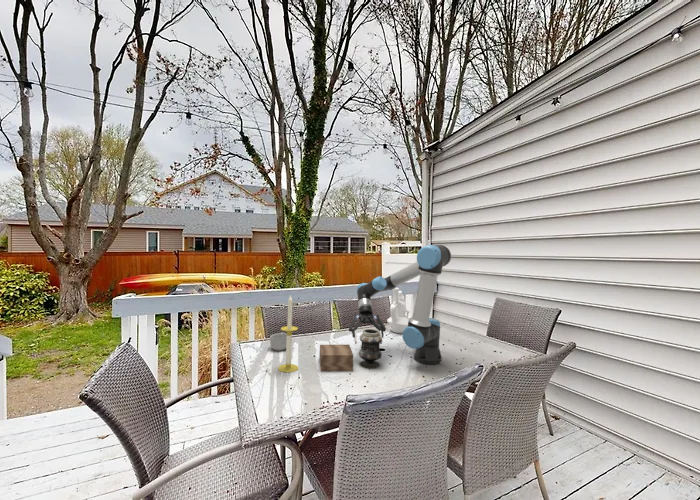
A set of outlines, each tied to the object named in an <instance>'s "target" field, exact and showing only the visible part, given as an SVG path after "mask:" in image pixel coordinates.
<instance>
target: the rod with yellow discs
mask: <svg viewBox="0 0 700 500" xmlns="http://www.w3.org/2000/svg"><path fill="white" fill-rule="evenodd" d="M287 300H288V301H287V322H286V323H287V324H286V325H285V326H282V327H280V330H281V331H282V332H286V334H287V343H286V349H285V351H286V352H285V364H281V365H279V366H278V368H277V370H278V371H279V372H282V373H294V372H297V371H298V370H299V366H298V365H296V364H292V346H293V345H292V339H293V332H296V331H298V329H299V327H298V326H295V325H293V298H292V296H291V294H290V295H289V298H288V299H287Z"/></svg>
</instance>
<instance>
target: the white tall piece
mask: <svg viewBox="0 0 700 500" xmlns="http://www.w3.org/2000/svg"><path fill="white" fill-rule="evenodd" d="M391 291H392V304H391V305H390V307H389V311H390V317H389V318H387V319H386V321H387V323H388V326H389V328H390V329H391V331H392V332H393V333H397V334H403V331H404V329H405V328H406V327H407V326H408V321H409V319H410V318H409V314H410V312H411V311H410V310H409V309H407V305H406V302H405V301H406V300H405V296H404V294H403V291H402V290H400V288H399V287H396V288H395V289H392V290H391ZM405 314H406V315H405Z"/></svg>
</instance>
